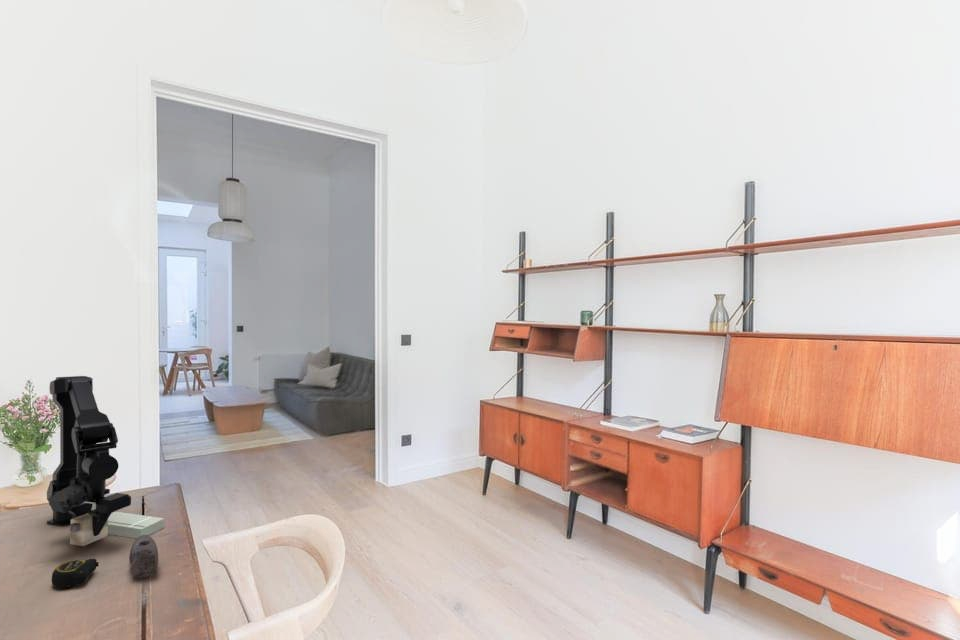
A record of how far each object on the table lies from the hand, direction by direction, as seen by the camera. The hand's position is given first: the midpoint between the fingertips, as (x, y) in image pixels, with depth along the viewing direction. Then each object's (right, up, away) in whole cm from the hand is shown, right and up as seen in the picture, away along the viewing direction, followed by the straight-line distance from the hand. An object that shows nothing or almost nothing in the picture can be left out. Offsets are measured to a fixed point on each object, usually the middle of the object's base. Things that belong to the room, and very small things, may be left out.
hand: (89, 534), depth 120 cm
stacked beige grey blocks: (0, -1, 0) cm, 1 cm away
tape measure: (+10, -3, -16) cm, 19 cm away
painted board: (+3, -3, +9) cm, 10 cm away
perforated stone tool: (+20, -4, -10) cm, 23 cm away
